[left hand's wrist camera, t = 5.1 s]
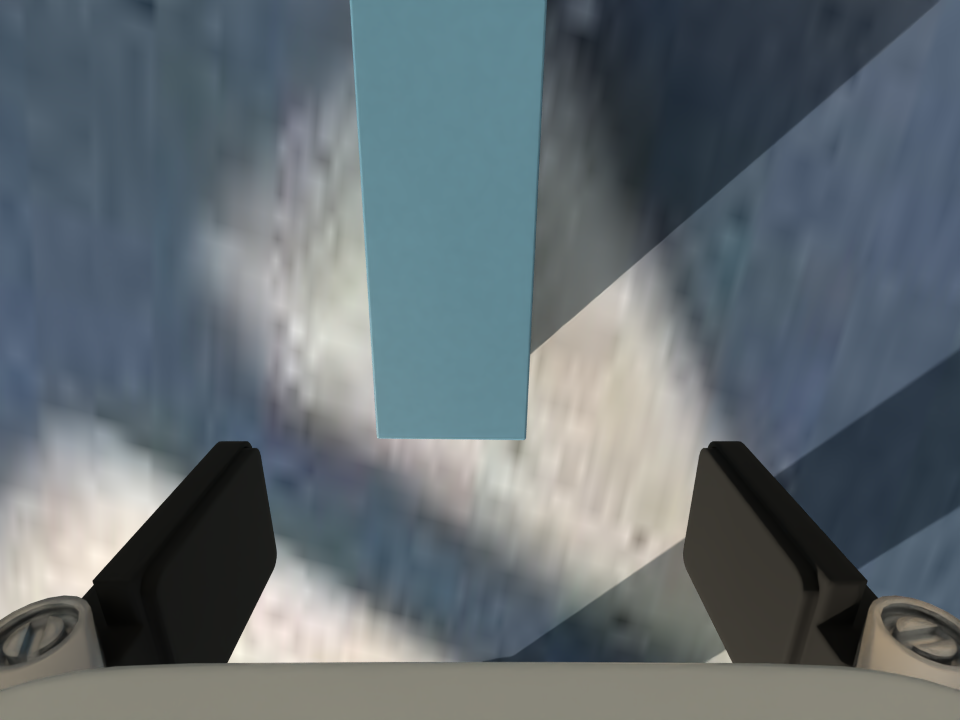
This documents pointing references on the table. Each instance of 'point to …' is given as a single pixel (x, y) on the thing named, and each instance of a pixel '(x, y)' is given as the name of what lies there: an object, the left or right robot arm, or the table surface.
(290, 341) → the table surface
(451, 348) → the blue drawer box
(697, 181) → the table surface
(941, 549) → the table surface
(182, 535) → the left robot arm
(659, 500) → the table surface
